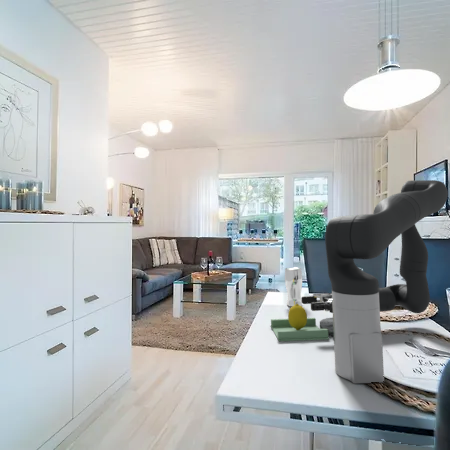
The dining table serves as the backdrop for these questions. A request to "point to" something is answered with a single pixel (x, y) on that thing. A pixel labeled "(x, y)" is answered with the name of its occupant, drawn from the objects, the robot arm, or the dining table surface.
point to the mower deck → (327, 325)
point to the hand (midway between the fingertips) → (306, 303)
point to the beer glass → (293, 286)
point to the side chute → (298, 331)
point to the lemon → (297, 317)
